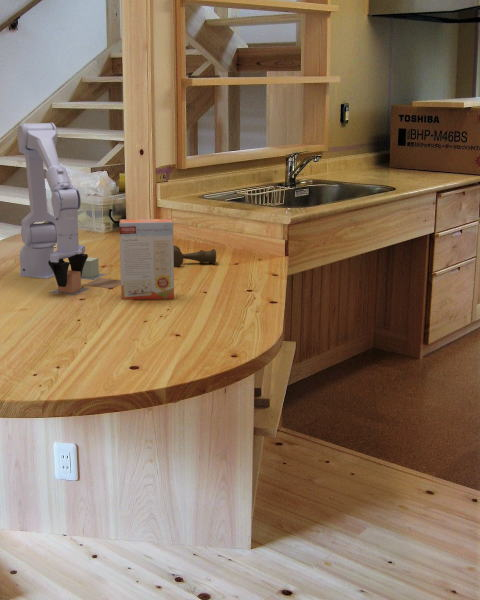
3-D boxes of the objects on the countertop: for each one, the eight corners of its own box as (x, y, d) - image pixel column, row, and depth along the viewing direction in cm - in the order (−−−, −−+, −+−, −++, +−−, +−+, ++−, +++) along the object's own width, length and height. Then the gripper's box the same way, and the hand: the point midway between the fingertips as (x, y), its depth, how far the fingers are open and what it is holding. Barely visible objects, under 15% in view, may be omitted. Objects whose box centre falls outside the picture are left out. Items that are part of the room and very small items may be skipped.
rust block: (58, 291, 214) (57, 273, 213) (66, 287, 218) (66, 270, 217) (72, 293, 213) (71, 275, 212) (81, 289, 217) (80, 271, 216)
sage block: (77, 276, 231) (76, 259, 230) (85, 273, 235) (84, 256, 234) (91, 278, 230) (90, 261, 228) (98, 274, 234) (98, 258, 233)
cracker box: (173, 294, 215) (173, 217, 210) (174, 299, 210) (173, 221, 204) (121, 294, 214) (119, 218, 208) (120, 300, 208) (119, 221, 202)
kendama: (217, 269, 248) (153, 268, 245) (214, 263, 257) (152, 262, 255) (218, 250, 247) (153, 249, 244) (214, 244, 256) (152, 243, 253)
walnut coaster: (83, 286, 222) (83, 285, 222) (99, 279, 230) (99, 278, 230) (112, 289, 219) (112, 288, 219) (127, 282, 227) (127, 280, 227)
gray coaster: (69, 278, 230) (69, 277, 230) (83, 272, 238) (83, 271, 237) (93, 281, 228) (93, 279, 228) (107, 275, 235) (106, 273, 235)
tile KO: (49, 293, 213) (48, 292, 213) (64, 286, 221) (64, 285, 221) (74, 296, 211) (74, 295, 211) (90, 289, 218) (90, 288, 218)
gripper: (66, 239, 204) (68, 290, 207) (94, 230, 217) (95, 278, 221) (42, 237, 206) (44, 288, 209) (71, 228, 219) (73, 276, 223)
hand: (69, 283), depth 215 cm, fingers open, 7 cm apart
